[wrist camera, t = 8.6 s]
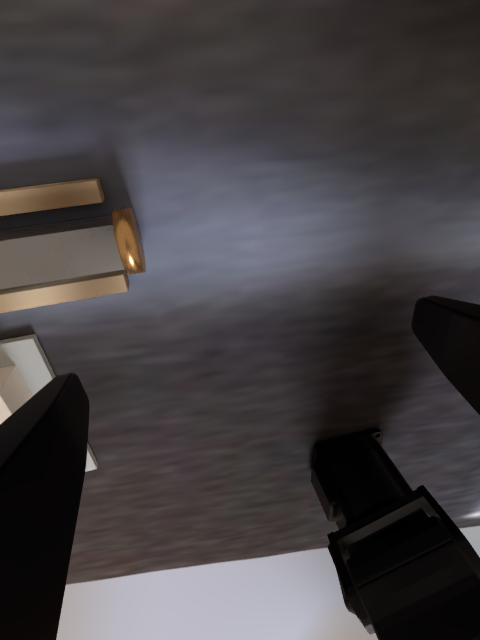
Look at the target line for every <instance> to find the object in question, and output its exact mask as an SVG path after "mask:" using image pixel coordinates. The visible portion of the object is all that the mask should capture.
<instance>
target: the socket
mask: <svg viewBox="0 0 480 640" xmlns="http://www.w3.org/2000/svg"><path fill="white" fill-rule="evenodd" d="M54 377H56V376H55V374H54V372H53V370H52V368H51V366H50V364H49V361H48V359H47V357H46V355H45V353H44V351H43V349H42V347H41V345H40V343H39V341H38V339H37V337H36V335H35V334H32V335H27V336H21V337H16V338H10V339H4V340H0V424H1V423H2V422H4V421H5V420H6V419H7V418H8V417H9V416H11V415H12V414H13V413H14V412H15V411H16V410H17V409H19V408H20V407H21V406H22V405H23V404H24V403H26V402H27V401H28V400H29V399H30V398H31V397H32V396H34V395H35V394H36V393H37V392H38V391H39V390H41V389H42V388H43V387H44V386H45V385H46V384H47V383H49V382H50V381H51V380H52V379H53V378H54ZM97 465H98V463H97V461H96V459H95V456H94V454H93V452H92V450H91V448H90V446H89V444H88V445H87V461H86V469H85V472H86V471H90V470H94V469H97Z"/></svg>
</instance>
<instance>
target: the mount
mask: <svg viewBox="0 0 480 640" xmlns="http://www.w3.org/2000/svg"><path fill="white" fill-rule="evenodd" d="M104 199H105V198H104V194H103V191H102V187H101V184H100V180H99V178H93V179H85V180H77V181H69V182H61V183H53V184H45V185H37V186H28V187H20V188H12V189H4V190H0V216H5V215H12V214H20V213H27V212H34V211H42V210H49V209H57V208H64V207H72V206H79V205H87V204H94V203H102V202H103V200H104ZM128 289H129V282H128V278H127V275H126V271H125V269H124V270H118V271H112V272H105V273H99V274H93V275H87V276H81V277H75V278H68V279H62V280H56V281H50V282H44V283H37V284H31V285H25V286H19V287H13V288H6V289H0V313H4V312H10V311H16V310H22V309H28V308H33V307H39V306H45V305H51V304H57V303H63V302H69V301H75V300H80V299H86V298H92V297H98V296H104V295H110V294H116V293H121V292H127V291H128Z"/></svg>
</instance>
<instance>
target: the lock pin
mask: <svg viewBox="0 0 480 640" xmlns="http://www.w3.org/2000/svg"><path fill="white" fill-rule="evenodd" d="M124 269H125V271H126V273H127V274H128V275H130V274H136V273H142V272H145V271H146V264H145V256H144V250H143V245H142V240H141V236H140V231H139V228H138V224H137V220H136V217H135V214H134V212H133V210H132V208H131V207H128V208H120V209H113V211H112V215H105V216H98V217H90V218H83V219H76V220H69V221H62V222H55V223H47V224H40V225H33V226H26V227H19V228H12V229H4V230H0V289H6V288H13V287H19V286H25V285H31V284H37V283H44V282H50V281H56V280H62V279H68V278H75V277H81V276H87V275H93V274H99V273H105V272H112V271H118V270H124Z"/></svg>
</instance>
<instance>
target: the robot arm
mask: <svg viewBox="0 0 480 640" xmlns="http://www.w3.org/2000/svg"><path fill="white" fill-rule="evenodd" d="M412 330H413V332H414V334H415V335H416V337H417V338H418V340H419V341H420V342H421V344H422V345H423V346H424V348H425V349H426V351H427V352H428V353H429V355H430V356H431V358H432V359H433V360H434V362H435V363H436V365H437V366H438V367H439V369H440V370H441V371H442V373H443V374H444V375H445V376H446V378H447V379H448V380H449V381H450V382H451V383H452V385H453V386H454V387H455V388H456V389H457V390H458V391H459V392H460V394H461V395H462V396H463V397H464V398H465V399H466V400H467V401H468V403H469V404H470V405H471V406H472V407H473V408H474V409H475V410H476V412H477V413H478V414H479V415H480V305H478V304H473V303H468V302H464V301H459V300H454V299H449V298H444V297H439V296H427V297H423V298H419V299H418V300H417V301H416V303H415V308H414V313H413V319H412ZM88 425H89V400H88V397H87V394H86V392H85V390H84V388H83V386H82V384H81V382H80V380H79V377H78V376H77V375H76V374H75V373H67V374H62V375H58V376H56V377H54V378H53V379H52V380H51V381H50V382H49V383H47V384H46V385H45V386H44V387H43V388H42V389H41V390H39V391H38V392H37V393H36V394H35V395H34V396H32V397H31V398H30V399H29V400H28V401H27V402H26V403H24V404H23V405H22V406H21V407H20V408H19V409H17V410H16V411H15V412H14V413H13V414H12V415H11V416H9V417H8V418H7V419H6V420H5V421H4V422H2V423H1V424H0V640H56V637H57V631H58V625H59V619H60V614H61V608H62V602H63V597H64V591H65V585H66V579H67V574H68V568H69V562H70V556H71V551H72V545H73V539H74V533H75V528H76V522H77V516H78V510H79V505H80V499H81V493H82V487H83V482H84V476H85V469H86V461H87V445H88ZM382 436H383V433H382V432H381V430H380V429H378V428H377V429H373V430H368V431H364V432H360V433H356V434H352V435H348V436H344V437H340V438H336V439H332V440H328V441H324V442H320V443H318V444H316V445H315V447H314V463H313V464H312V473H311V482H312V484H313V487H314V489H315V491H316V493H317V496H318V498H319V500H320V503H321V505H322V507H323V510H324V512H325V514H326V516H327V519H328V521H329V522H331V523H334V522H336V524H337V526H338V528H339V530H338V531H336V532H331V533H329V534H327V536H328V539H329V541H330V544H329V545H328V549H329V552H330V554H331V557H332V559H333V562H334V564H335V567H336V570H337V574H338V578H339V582H340V586H341V590H342V594H343V599H344V602H345V605H346V607H347V609H348V611H350V612H352V613H353V614H355V615H357V617H358V619H359V620H360V622H361V623H362V624H363V625H364V627H365V629H366V630H367V632H368V633H369V634H373V633H376V635H377V638H378V640H480V558H479V556H478V555H477V553H476V552H475V550H474V549H473V547H472V546H471V545H470V543H469V542H468V540H467V539H466V538H465V536H464V535H463V534H462V532H461V531H460V530H459V528H458V527H457V526H456V525H455V523H454V522H453V521H452V520H451V519H450V517H449V516H448V515H447V514H446V512H445V511H444V510H443V509H442V508H441V506H440V505H439V504H438V503H437V501H436V500H435V499H434V498H433V497H432V495H431V494H430V493H429V492H428V491H427V489H426V488H425V487H424V486H423V485H421V486H419V487H417V490H415V491H413V490H412V489H411V488H410V486H409V485H408V483H407V482H406V480H405V479H404V478H403V476H402V475H401V473H400V472H399V470H398V469H397V468H396V466H395V465H394V463H393V462H392V461H391V459H390V458H389V456H388V455H387V453H386V452H385V451H384V449H383V448H382V446H381V442H382Z"/></svg>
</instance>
